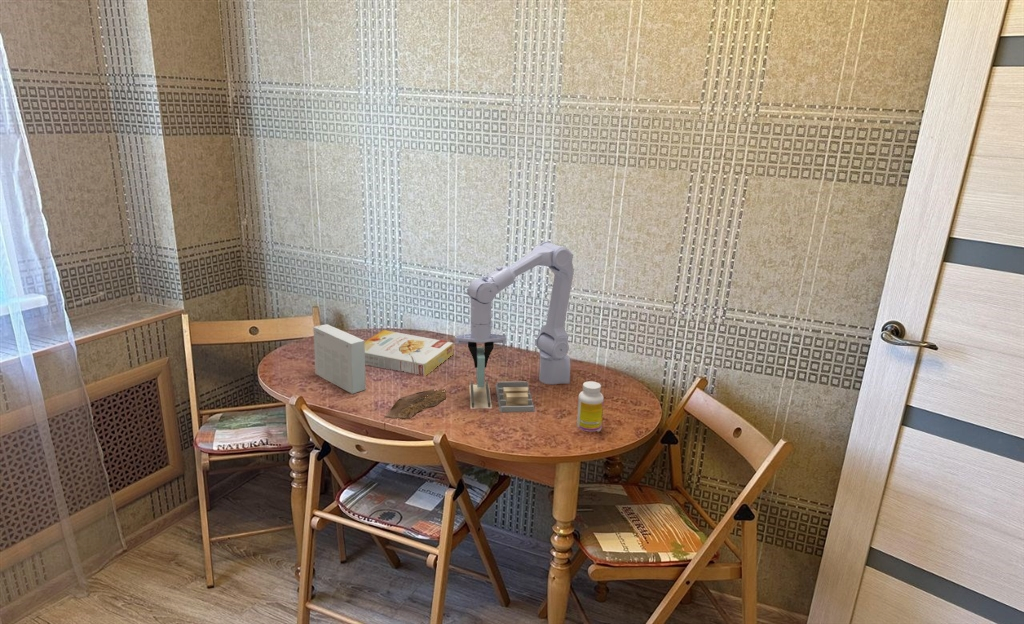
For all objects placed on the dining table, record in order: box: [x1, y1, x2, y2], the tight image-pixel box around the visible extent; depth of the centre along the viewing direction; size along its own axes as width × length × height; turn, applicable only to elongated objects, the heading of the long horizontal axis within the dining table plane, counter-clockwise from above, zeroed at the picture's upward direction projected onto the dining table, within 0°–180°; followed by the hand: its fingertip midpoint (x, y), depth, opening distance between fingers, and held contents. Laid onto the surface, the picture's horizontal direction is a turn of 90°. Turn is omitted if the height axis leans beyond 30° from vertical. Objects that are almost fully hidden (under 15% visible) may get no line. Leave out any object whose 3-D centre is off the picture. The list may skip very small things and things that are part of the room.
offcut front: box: [506, 393, 528, 406], centre depth 175 cm, size 6×2×4 cm, turn 95°
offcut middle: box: [503, 387, 528, 400], centre depth 178 cm, size 7×2×4 cm, turn 95°
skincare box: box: [312, 323, 367, 395], centre depth 189 cm, size 21×5×16 cm, turn 47°
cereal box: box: [364, 329, 454, 376], centre depth 210 cm, size 20×6×28 cm
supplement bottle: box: [576, 380, 605, 433], centre depth 165 cm, size 7×7×13 cm
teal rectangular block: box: [475, 346, 486, 387], centre depth 179 cm, size 8×2×9 cm, turn 5°
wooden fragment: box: [384, 388, 447, 420], centre depth 180 cm, size 26×11×1 cm, turn 143°
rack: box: [495, 380, 536, 413], centre depth 182 cm, size 10×19×2 cm, turn 5°
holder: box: [468, 380, 493, 410], centre depth 182 cm, size 6×16×2 cm, turn 5°
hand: (480, 366), depth 179 cm, fingers closed on teal rectangular block, 2 cm apart
